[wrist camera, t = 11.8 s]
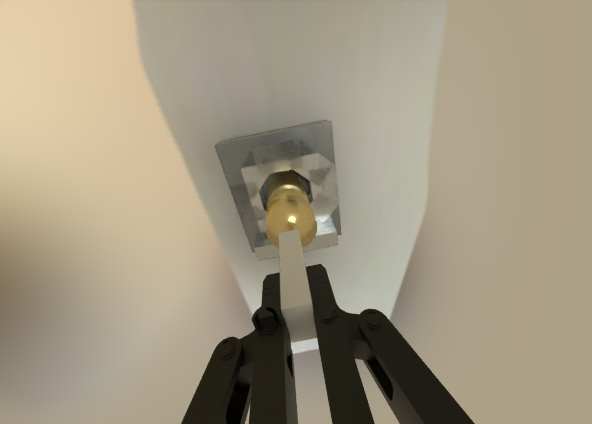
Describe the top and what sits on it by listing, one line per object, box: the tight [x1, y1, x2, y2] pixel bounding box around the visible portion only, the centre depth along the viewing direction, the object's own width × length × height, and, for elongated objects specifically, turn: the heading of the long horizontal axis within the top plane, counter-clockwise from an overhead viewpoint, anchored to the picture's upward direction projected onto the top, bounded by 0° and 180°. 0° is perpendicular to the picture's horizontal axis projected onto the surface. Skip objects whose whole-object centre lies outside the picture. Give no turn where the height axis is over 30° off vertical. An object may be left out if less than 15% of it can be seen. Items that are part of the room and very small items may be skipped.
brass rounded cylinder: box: [266, 171, 317, 248], centre depth 22 cm, size 4×4×10 cm
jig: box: [215, 120, 341, 261], centre depth 24 cm, size 14×12×5 cm
